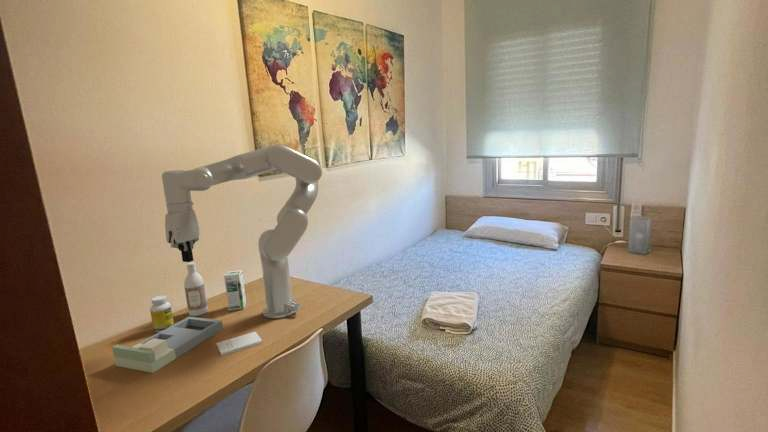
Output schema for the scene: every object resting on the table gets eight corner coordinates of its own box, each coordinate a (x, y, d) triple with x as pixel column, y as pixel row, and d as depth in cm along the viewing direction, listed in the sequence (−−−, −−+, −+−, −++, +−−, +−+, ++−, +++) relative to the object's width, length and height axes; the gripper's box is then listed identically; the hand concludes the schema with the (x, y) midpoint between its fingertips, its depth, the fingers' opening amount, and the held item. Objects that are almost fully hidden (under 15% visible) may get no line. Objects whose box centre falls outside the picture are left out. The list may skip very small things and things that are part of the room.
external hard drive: (262, 344, 127) (221, 357, 121) (255, 335, 134) (216, 346, 127) (261, 340, 127) (220, 352, 120) (255, 330, 134) (215, 342, 127)
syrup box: (228, 311, 154) (223, 275, 152) (232, 305, 160) (227, 270, 157) (243, 309, 155) (238, 273, 152) (246, 303, 161) (242, 269, 158)
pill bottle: (165, 333, 138) (159, 301, 136) (149, 332, 140) (143, 301, 138) (178, 324, 145) (173, 294, 142) (163, 324, 146) (157, 294, 144)
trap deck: (223, 328, 139) (220, 312, 138) (152, 372, 113) (149, 353, 112) (190, 324, 144) (187, 308, 143) (115, 365, 118) (112, 347, 117)
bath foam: (186, 317, 150) (178, 267, 147) (191, 310, 157) (183, 262, 153) (206, 315, 152) (198, 264, 148) (210, 308, 158) (202, 259, 155)
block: (167, 350, 119) (166, 339, 119) (153, 359, 115) (151, 348, 114) (155, 349, 121) (153, 338, 120) (140, 357, 116) (138, 346, 116)
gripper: (189, 204, 139) (196, 254, 143) (151, 211, 126) (160, 267, 129) (205, 204, 137) (213, 255, 140) (169, 211, 123) (178, 268, 126)
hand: (188, 261), depth 135 cm, fingers closed
